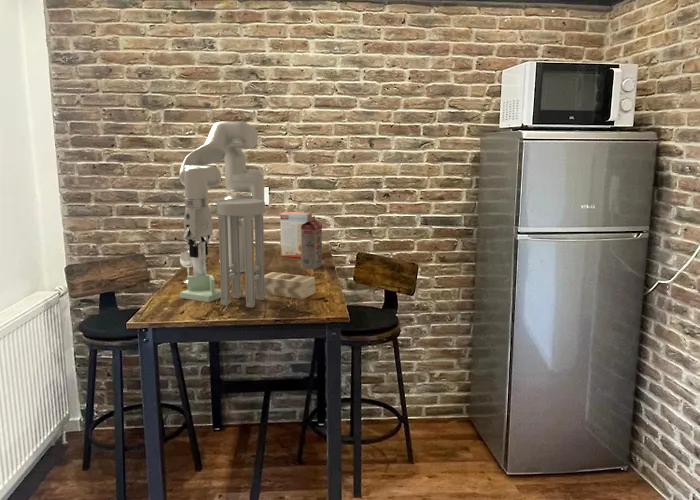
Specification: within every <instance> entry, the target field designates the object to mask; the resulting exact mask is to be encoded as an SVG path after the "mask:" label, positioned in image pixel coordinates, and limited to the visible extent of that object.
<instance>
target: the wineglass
mask: <svg viewBox="0 0 700 500" xmlns="http://www.w3.org/2000/svg"><path fill="white" fill-rule="evenodd" d="M179 263H180V265H181V266H182V267H184V268H186V272H187V276H190V270H191V269H190V268H193V257H190V249H186V250H181V251H180V257H179ZM182 283H185V284H188V279H187V278H186V279H185V280H183V281H182Z"/></svg>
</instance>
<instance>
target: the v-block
mask: <svg viewBox="0 0 700 500" xmlns="http://www.w3.org/2000/svg"><path fill="white" fill-rule="evenodd" d="M187 279H188V283H187V289H186V290H183V291H180V293H179V296H180V299H185V300H191V301H198V302H205V303H211V302H213V301H215V300H219V299H221V288H220V289H219V288H216V281H215V277H214V275H212V274H206V276H205V277H194V276H193V275H189V276H188V275H187V278H186V280H187Z"/></svg>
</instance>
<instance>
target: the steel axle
mask: <svg viewBox="0 0 700 500" xmlns="http://www.w3.org/2000/svg"><path fill="white" fill-rule="evenodd" d="M196 246H198V257H197V258H194V257H193V266H192V274H193V275H192V276H194V277H205V276H206V275H207V255H206V249H205V241H200V240H197V245H196Z"/></svg>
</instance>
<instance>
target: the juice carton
mask: <svg viewBox="0 0 700 500" xmlns="http://www.w3.org/2000/svg"><path fill="white" fill-rule="evenodd" d="M322 229H323V224H322V223H321V222H319V220H316V216H315V215H312V217H309V218H308V222H306V223H304V224H302V225H301V269H302V268H303V269H313V270H316V269H319V268H320V267H322V266H323V265H322V264H323V263H322V262H323V253H322V252H323V251H322V250H323V230H322Z"/></svg>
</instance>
